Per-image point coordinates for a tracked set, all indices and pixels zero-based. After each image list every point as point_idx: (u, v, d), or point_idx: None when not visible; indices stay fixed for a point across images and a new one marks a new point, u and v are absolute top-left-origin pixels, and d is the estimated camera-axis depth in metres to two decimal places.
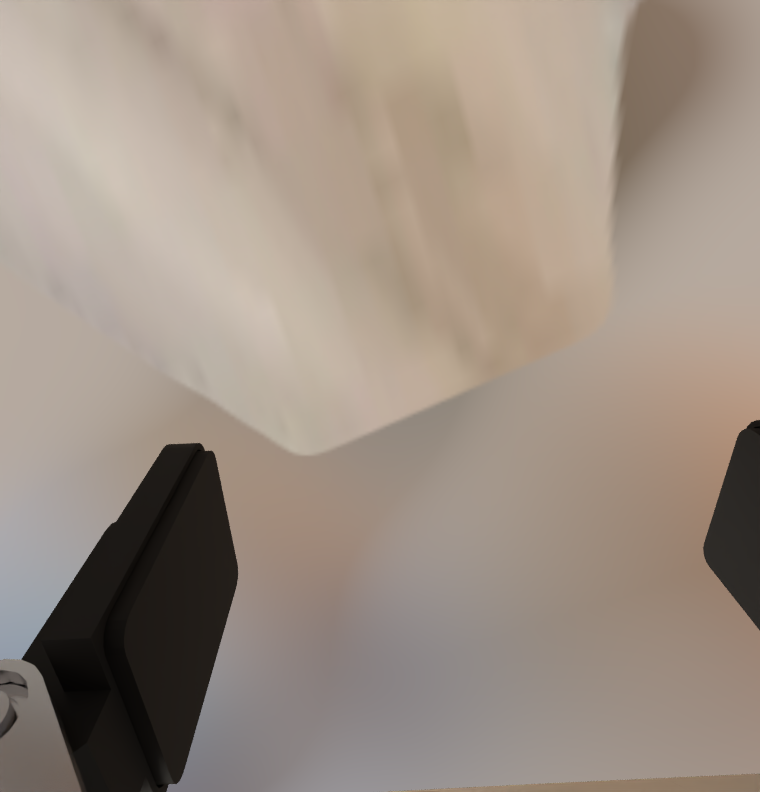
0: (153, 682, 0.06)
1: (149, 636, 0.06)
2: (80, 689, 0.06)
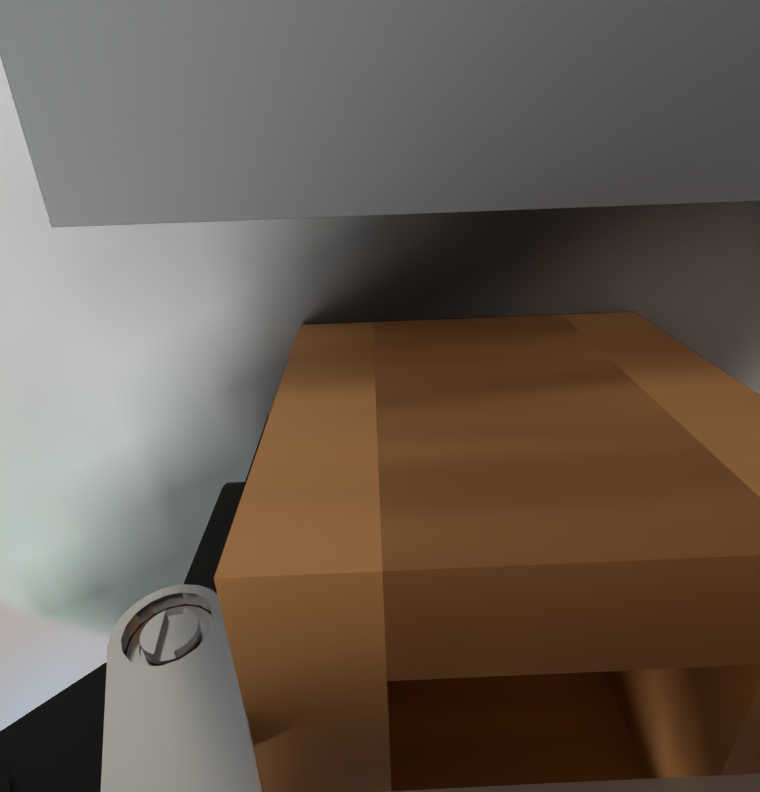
0: None
1: None
2: None
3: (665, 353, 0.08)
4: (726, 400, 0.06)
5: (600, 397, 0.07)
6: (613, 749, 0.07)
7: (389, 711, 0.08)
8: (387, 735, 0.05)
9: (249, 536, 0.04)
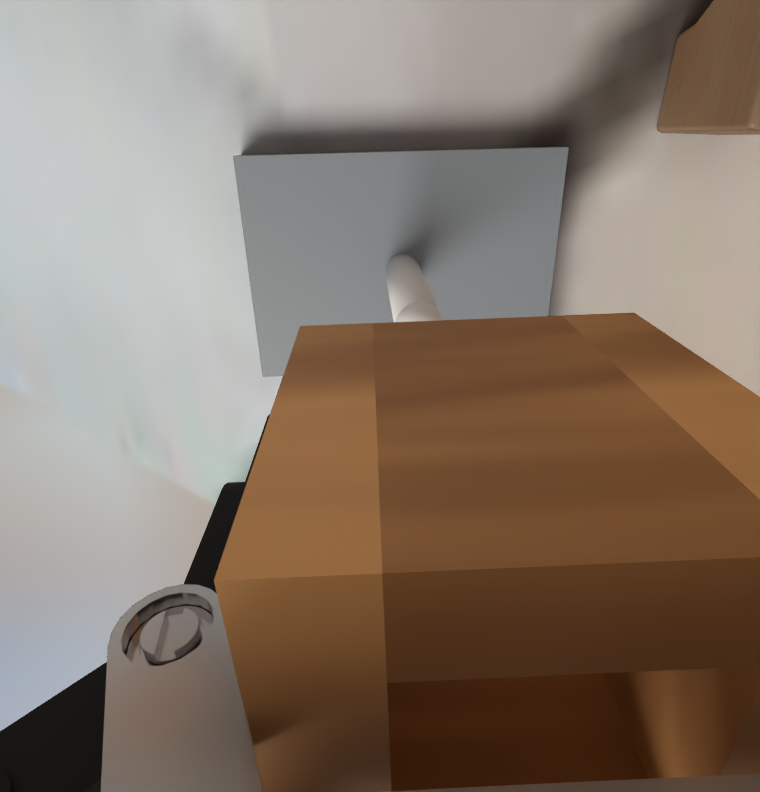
0: None
1: None
2: None
3: (665, 354, 0.08)
4: (726, 401, 0.06)
5: (600, 400, 0.07)
6: (613, 750, 0.07)
7: (389, 712, 0.08)
8: (387, 737, 0.05)
9: (249, 538, 0.04)
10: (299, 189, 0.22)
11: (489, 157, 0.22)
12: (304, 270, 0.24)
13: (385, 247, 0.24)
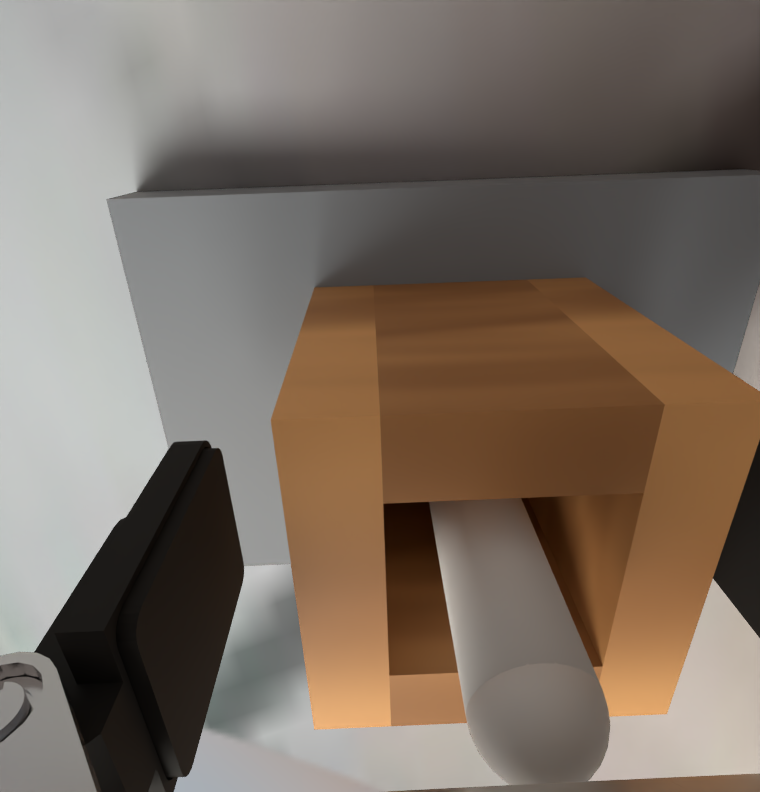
0: (163, 676, 0.06)
1: (160, 630, 0.06)
2: (93, 682, 0.06)
3: (601, 303, 0.10)
4: (636, 330, 0.09)
5: (543, 330, 0.09)
6: None
7: (386, 584, 0.10)
8: (383, 549, 0.07)
9: (290, 401, 0.07)
10: (245, 261, 0.11)
11: (627, 196, 0.11)
12: (262, 404, 0.13)
13: None
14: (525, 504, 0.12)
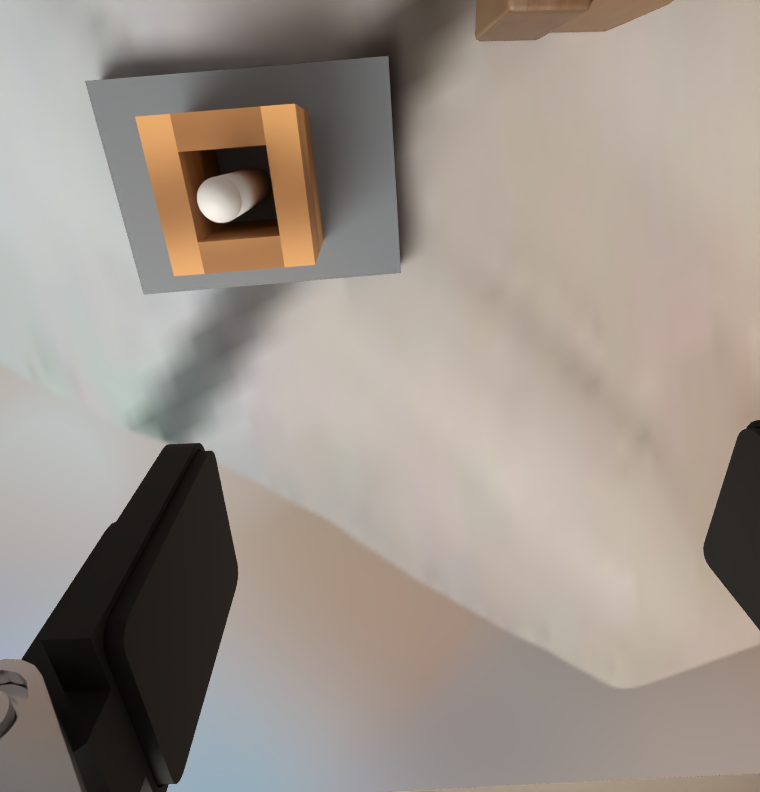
0: (153, 682, 0.06)
1: (149, 636, 0.06)
2: (80, 689, 0.06)
3: None
4: None
5: None
6: (276, 231, 0.23)
7: (210, 235, 0.24)
8: (182, 174, 0.21)
9: None
10: (149, 109, 0.25)
11: (317, 69, 0.24)
12: None
13: (236, 162, 0.26)
14: None
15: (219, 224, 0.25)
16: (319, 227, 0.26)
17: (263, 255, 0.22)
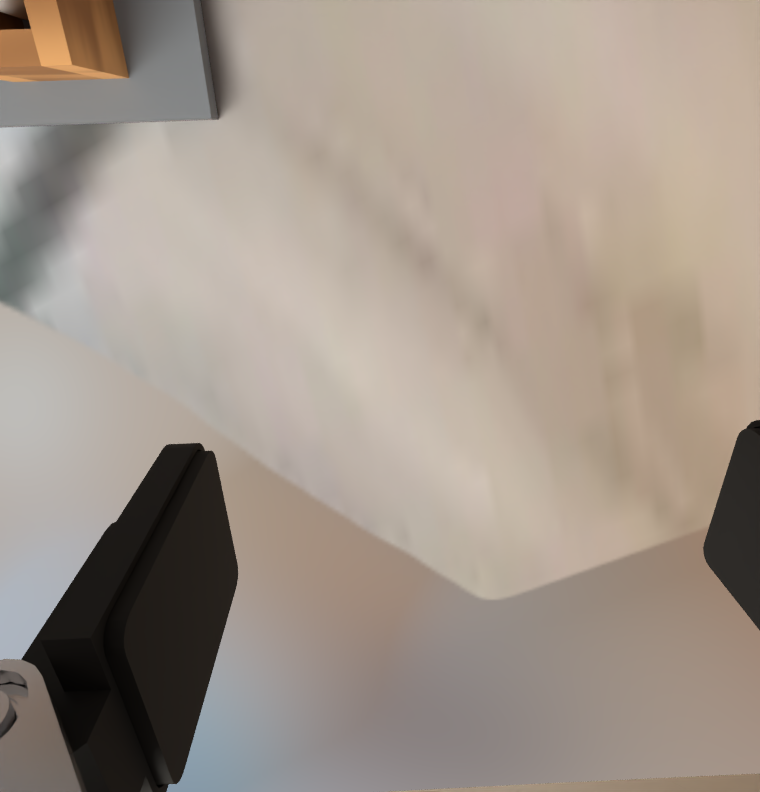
0: (153, 682, 0.06)
1: (149, 636, 0.06)
2: (80, 689, 0.06)
3: None
4: None
5: None
6: None
7: None
8: None
9: None
10: None
11: None
12: None
13: None
14: None
15: None
16: (111, 53, 0.26)
17: (17, 50, 0.22)
